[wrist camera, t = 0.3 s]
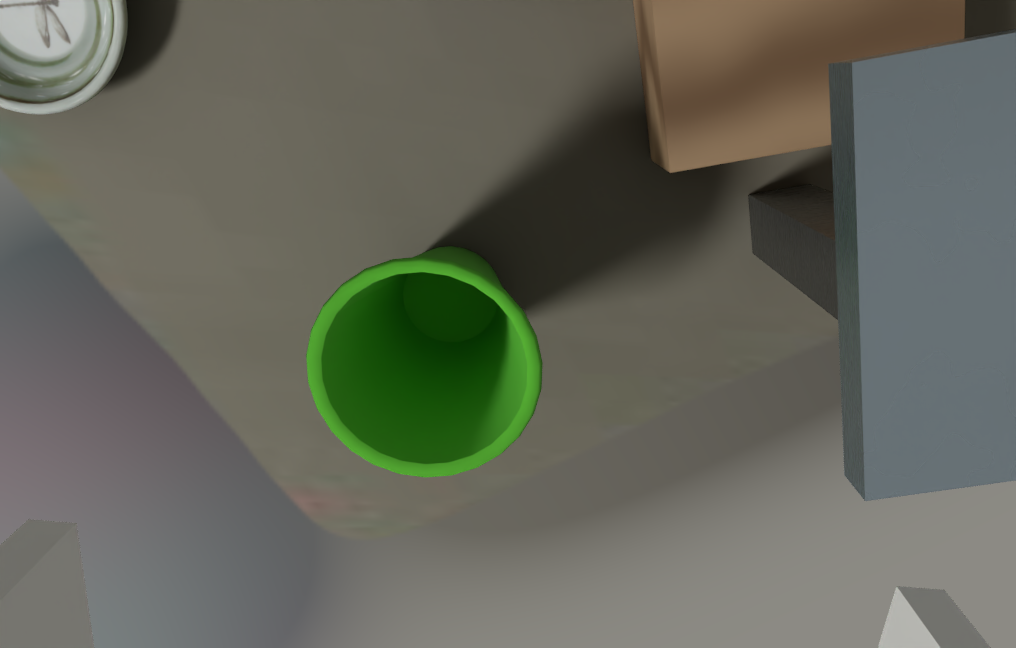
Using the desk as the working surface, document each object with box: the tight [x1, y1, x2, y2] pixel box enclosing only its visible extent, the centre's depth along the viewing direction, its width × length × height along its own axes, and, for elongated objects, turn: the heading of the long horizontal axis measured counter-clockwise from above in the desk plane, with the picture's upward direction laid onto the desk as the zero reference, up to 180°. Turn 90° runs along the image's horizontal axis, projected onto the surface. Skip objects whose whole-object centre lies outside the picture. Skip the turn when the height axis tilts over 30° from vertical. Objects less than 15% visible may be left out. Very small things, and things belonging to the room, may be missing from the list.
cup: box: [306, 246, 542, 477], centre depth 33 cm, size 9×9×11 cm
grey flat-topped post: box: [748, 29, 1016, 501], centre depth 26 cm, size 10×10×21 cm
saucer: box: [0, 0, 128, 114], centre depth 33 cm, size 10×10×2 cm
